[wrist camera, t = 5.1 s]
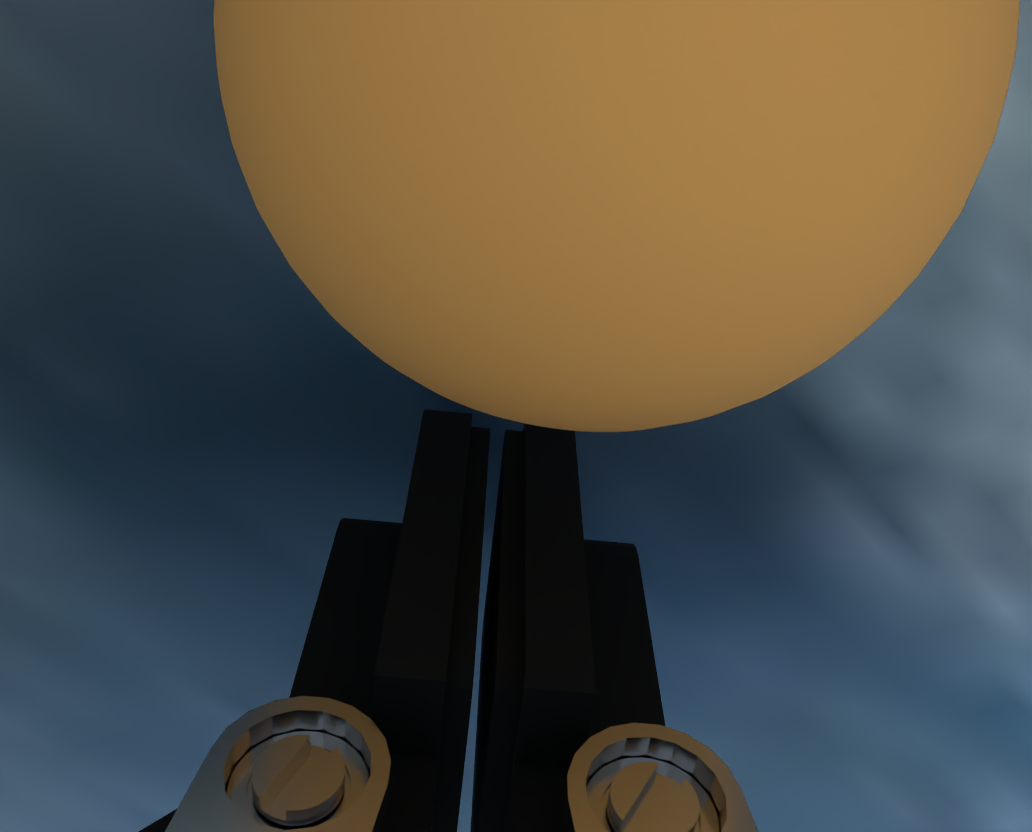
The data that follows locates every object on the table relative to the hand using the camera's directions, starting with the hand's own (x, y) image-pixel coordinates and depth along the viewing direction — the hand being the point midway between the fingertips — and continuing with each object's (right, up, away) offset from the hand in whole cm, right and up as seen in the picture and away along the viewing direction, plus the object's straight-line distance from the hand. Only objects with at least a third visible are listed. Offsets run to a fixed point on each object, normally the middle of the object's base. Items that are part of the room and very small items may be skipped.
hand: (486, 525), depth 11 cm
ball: (+1, +4, -4) cm, 6 cm away
